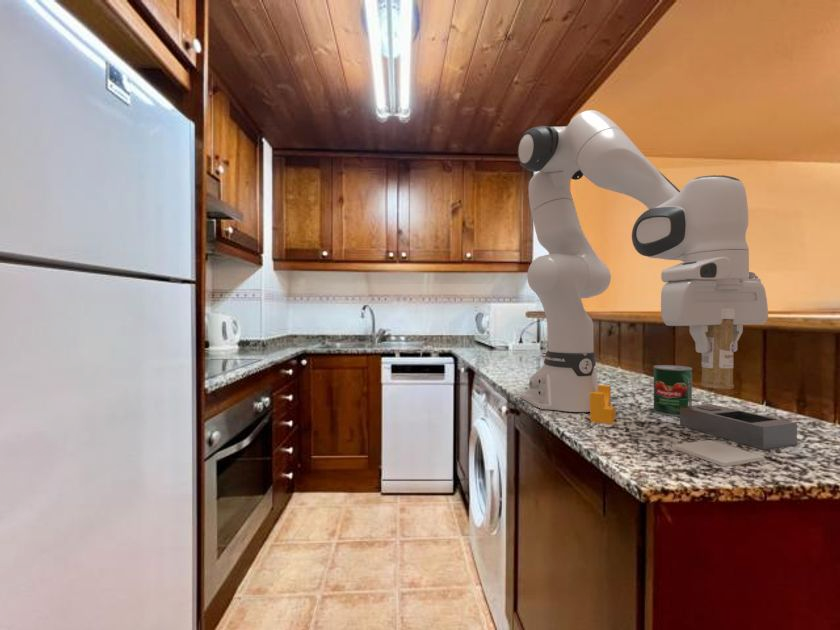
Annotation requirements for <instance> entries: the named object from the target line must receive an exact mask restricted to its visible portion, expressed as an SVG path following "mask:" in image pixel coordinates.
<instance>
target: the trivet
mask: <svg viewBox="0 0 840 630" xmlns="http://www.w3.org/2000/svg"><path fill="white" fill-rule="evenodd" d="M671 446H672V449H674V450H677V451H679V452H682V453H685V454H687V455H690V456H693V457H696V458H698V459H702V460H705V461H707V462H710V463H713V464H715V465H718V466H721V467H725V468H726V467H731V466H736V465H744V464H750V463H757V462H760V461H761V462H762V460H763V461H765V457H766V456H764V455H761V454H758V453H754V452H751V451H748V450H744V449H741V448H738V447H734V446H731V445H728V444H725V443H723V442H722V443H721V442H718V441H715V440H712V439H707V440H706V439H705V440H701V441H700V440H699V441H693V442H692V441H691V442H683V443H676V444H675V443H674V444H672V445H671ZM756 461H757V462H756ZM749 462H750V463H749Z"/></svg>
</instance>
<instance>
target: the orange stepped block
mask: <svg viewBox="0 0 840 630" xmlns="http://www.w3.org/2000/svg"><path fill="white" fill-rule="evenodd" d="M611 394H612V393H611V385H609V384H608V385H606V384H598V392H591V393H590V413H589V415H590V417H589V419H590V421H589V422H591V421H592V422H593V423H600V424H606V423H607V424H608V425H613V423H614V421H615V420H616V418H617V416H616V415H617V414H616V411H617V410H616V407H615V406H613V405H612V404H611V403H612V402H611V396H612V395H611Z"/></svg>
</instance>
